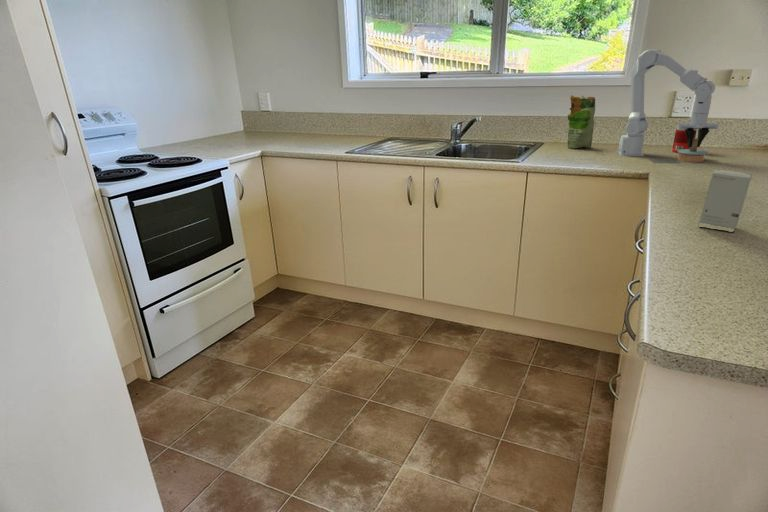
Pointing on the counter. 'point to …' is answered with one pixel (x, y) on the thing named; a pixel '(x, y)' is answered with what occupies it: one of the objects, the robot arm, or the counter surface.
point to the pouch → (581, 122)
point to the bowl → (691, 158)
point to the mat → (663, 160)
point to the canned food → (681, 140)
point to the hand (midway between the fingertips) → (693, 146)
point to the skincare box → (725, 198)
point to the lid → (693, 149)
